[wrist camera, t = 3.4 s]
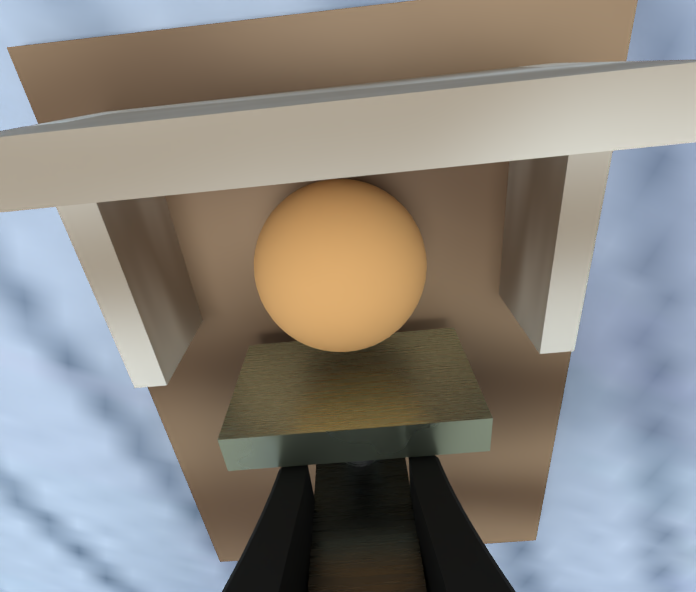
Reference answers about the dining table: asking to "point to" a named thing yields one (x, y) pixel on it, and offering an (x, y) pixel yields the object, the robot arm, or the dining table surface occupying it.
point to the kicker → (358, 443)
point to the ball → (340, 265)
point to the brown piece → (356, 164)
